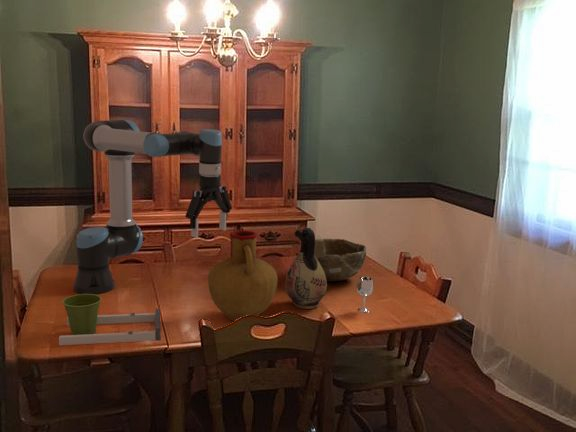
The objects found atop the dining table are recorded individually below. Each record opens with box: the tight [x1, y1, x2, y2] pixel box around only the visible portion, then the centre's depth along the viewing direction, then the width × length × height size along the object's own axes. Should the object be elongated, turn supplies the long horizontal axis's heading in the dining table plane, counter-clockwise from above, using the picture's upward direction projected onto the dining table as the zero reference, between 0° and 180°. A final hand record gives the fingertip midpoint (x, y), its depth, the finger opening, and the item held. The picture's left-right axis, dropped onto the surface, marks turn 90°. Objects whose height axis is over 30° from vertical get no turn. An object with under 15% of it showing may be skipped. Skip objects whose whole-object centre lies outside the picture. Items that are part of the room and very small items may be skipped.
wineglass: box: [356, 276, 374, 313], centre depth 226 cm, size 6×6×12 cm
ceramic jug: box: [284, 227, 328, 310], centre depth 228 cm, size 17×15×30 cm
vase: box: [207, 230, 278, 321], centre depth 214 cm, size 24×24×30 cm
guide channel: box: [58, 308, 161, 346], centre depth 201 cm, size 30×18×4 cm, turn 101°
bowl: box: [314, 238, 367, 282], centre depth 261 cm, size 28×27×15 cm
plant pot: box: [61, 293, 103, 335], centre depth 198 cm, size 12×12×11 cm
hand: (208, 233), depth 222 cm, fingers open, 13 cm apart
